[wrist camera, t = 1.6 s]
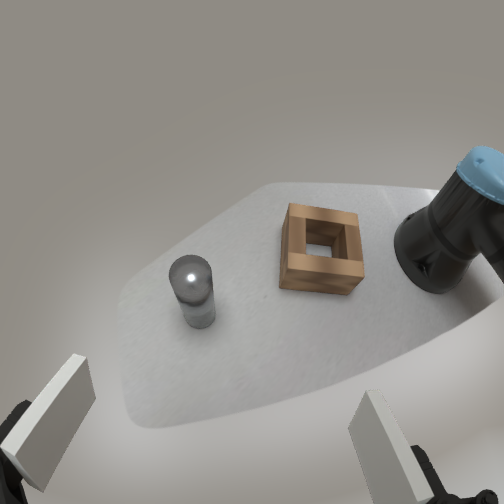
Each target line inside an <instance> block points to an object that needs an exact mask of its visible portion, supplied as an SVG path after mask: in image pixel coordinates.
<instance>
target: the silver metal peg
mask: <svg viewBox="0 0 504 504" xmlns="http://www.w3.org/2000/svg"><path fill="white" fill-rule="evenodd" d="M169 280H170V283H171V285H172V288H173V290H174V293H175V295H176V298H177V300H178V302H179V305H180V307H181V310H182V312H183V314H184V317H185V319H186V321H187V323H188V324H189V325H190V326H192V327H194V328H198V329H202V328H206V327H208V326H210V325H211V324H212V322H213V321H214V319H215V304H214V293H213V282H212V271H211V267H210V265H209V264H208V262H207V261H206V260H205V259H203V258H202V257H200V256H196V255H186V256H183V257H180V258H179V259H177V260H176V261H175V262H174V263H173V264H172V266H171V268H170V270H169Z"/></svg>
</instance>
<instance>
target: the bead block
mask: <svg viewBox="0 0 504 504" xmlns="http://www.w3.org/2000/svg"><path fill="white" fill-rule="evenodd" d="M306 243H309V244H317V245H324V246H331V249H332V258H330V257H322V256H314V255H307V254H306ZM364 277H365V275H364V264H363V255H362V246H361V238H360V230H359V223H358V216H357V214H355V213H349V212H343V211H338V210H332V209H325V208H319V207H313V206H306V205H300V204H293V203H289V207H288V210H287V213H286V217H285V220H284V223H283V227H282V242H281V263H280V281H279V288H283V289H292V290H302V291H311V292H321V293H332V294H342V295H348V294H349V293H350V292H351V291H352V290H353V289H354V288H355V287H356V286H357V285H358V284H359V283H360V282H361V280H362V279H363V278H364Z"/></svg>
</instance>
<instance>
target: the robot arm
mask: <svg viewBox="0 0 504 504" xmlns="http://www.w3.org/2000/svg"><path fill="white" fill-rule="evenodd" d="M456 168H457V169H456V171H455V172H454V173H453V175H452V176H451V177H450V179H449V180H448V181H447V183H446V184H445V185H444V187H443V188H442V189H441V190H440V192H439V193H438V194H437V195H436V197H435V198H434V199H433V200H432V202H431V203H430V204H429V205H428V206H426V207H424V208H422V209H420V210H418V211H417V212H415V213H413V214H411V215H409V216H408V217H407V218H405V219H404V221H403V222H402V223H401V224H400V226H399V227H398V229H397V231H396V233H395V239H394V244H395V251H396V255H397V258H398V260H399V262H400V265H401V266H402V268H403V270H404V271H405V273H406V274H407V275H408V277H409V278H410V279H411V280H412V281H413V282H414V283H415V284H416V285H418V286H419V287H421V288H422V289H424V290H426V291H428V292H431V293H444V292H447V291H449V290H450V289H451V288H453V287H454V286H456V285H457V284H458V283H459V282H460V280H461V279H462V277H463V275H464V273H465V272H466V270H467V268H468V267H469V265H470V263H471V262H472V260H473V259H474V258H475V257H476V256H477V255H478V254H480V253H482V254H483V256H484V257H485V258H486V259H487V261H488V262H489V263H490V265H491V266H492V267H493V269H494V270H495V272H496V273H497V275H498V276H499V277H500V279H501V280H502V282H503V283H504V155H503V154H502V153H500V152H498V151H497V150H495V149H492V148H490V147H487V146H477V147H474V148H472V149H471V150H470V152H469V153H468V154H467V155H466V157H465V158H464V159H463V160H462V161H461V162H459V163H458V165H457V167H456ZM95 399H96V397H95V393H94V389H93V385H92V380H91V376H90V371H89V366H88V362H87V357H84V356H80V355H77V354H73V355H72V356H71V357H70V358H69V359H68V361H67V362H66V363H65V364H64V365H63V366H62V368H61V369H60V370H59V371H58V372H57V374H56V375H55V376H54V377H53V378H52V380H51V381H50V382H49V383H48V384H47V386H46V387H45V388H44V389H43V390H42V392H41V393H40V394H39V395H38V397H37V398H36V399H35V400H34V401H33V403H32V402H30V401H28V400H25V401H23V402H21V403H20V404H18V405H17V406H16V407H15V408H14V410H13V411H12V412H11V414H9V416H8V417H7V420H5V421H4V422H3V423H2V424H1V426H0V504H28V502H27V499H26V496H25V492H24V489H23V486H22V484H21V480H22V479H23V478H24V480H25V481H26V482H27V483H28V484H29V485H30V486H32V487H34V488H35V489H37V490H39V491H41V492H44V490H45V488H46V486H47V484H48V482H49V480H50V479H51V477H52V475H53V473H54V471H55V469H56V467H57V465H58V463H59V462H60V460H61V458H62V456H63V454H64V453H65V451H66V449H67V447H68V445H69V444H70V442H71V440H72V438H73V436H74V434H75V433H76V431H77V429H78V428H79V426H80V424H81V423H82V421H83V419H84V417H85V416H86V414H87V413H88V411H89V409H90V408H91V406H92V404H93V403H94V401H95ZM348 429H349V432H350V435H351V438H352V441H353V444H354V447H355V450H356V452H357V455H358V458H359V461H360V464H361V467H362V470H363V473H364V476H365V479H366V482H367V485H368V488H369V491H370V494H371V497H372V500H373V503H374V504H498V498H497V495H496V494H495V492H493V491H492V490H487V489H486V490H483V491H481V492H480V493H479V494H478V495H476V497H470V498H462V499H460V498H459V497H458V496H456V495H453V494H448V493H447V492H446V490H445V489H444V487H443V485H442V483H441V481H440V479H439V477H438V475H437V473H436V471H435V469H433V466H432V464H431V462H429V458H428V456H427V454H426V453H425V451H424V450H422V449H421V448H420V447H419V446H418V445H414V446H409V444H408V442H407V440H406V438H405V436H404V434H403V432H402V431H401V429H400V427H399V425H398V423H397V421H396V419H395V417H394V416H393V414H392V412H391V410H390V408H389V406H388V404H387V403H386V401H385V399H384V397H383V395H382V394H381V392H380V390H369V391H366V392H365V394H364V396H363V398H362V401H361V403H360V405H359V407H358V409H357V411H356V413H355V415H354V417H353V419H352V421H351V423H350V425H349V427H348Z"/></svg>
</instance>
